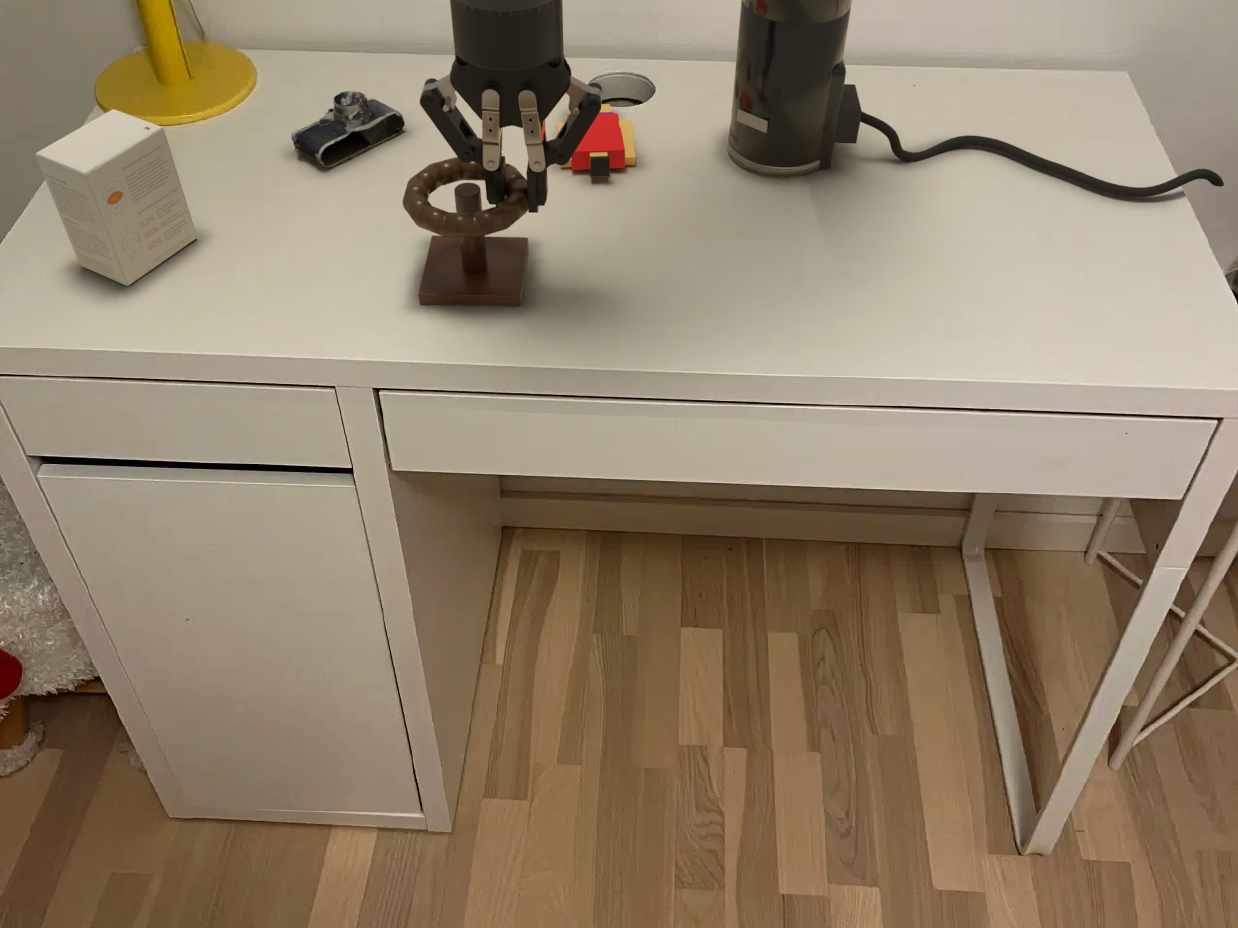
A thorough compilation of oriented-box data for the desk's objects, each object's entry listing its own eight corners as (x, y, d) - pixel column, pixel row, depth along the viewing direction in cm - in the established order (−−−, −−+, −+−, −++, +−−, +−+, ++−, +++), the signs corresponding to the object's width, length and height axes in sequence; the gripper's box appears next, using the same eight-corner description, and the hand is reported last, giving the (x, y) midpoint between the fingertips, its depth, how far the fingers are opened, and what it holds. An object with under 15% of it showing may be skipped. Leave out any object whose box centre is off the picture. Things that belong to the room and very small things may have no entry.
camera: (286, 152, 106) (277, 110, 103) (375, 112, 111) (369, 71, 108) (320, 172, 103) (312, 130, 100) (409, 130, 109) (403, 89, 106)
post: (528, 247, 96) (523, 162, 90) (520, 306, 90) (515, 220, 85) (433, 245, 96) (422, 160, 90) (419, 304, 90) (406, 218, 85)
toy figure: (555, 98, 110) (561, 157, 101) (626, 96, 110) (638, 154, 101) (556, 122, 111) (562, 183, 102) (626, 120, 112) (638, 180, 103)
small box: (151, 219, 98) (114, 106, 91) (200, 239, 96) (165, 125, 89) (77, 267, 93) (31, 152, 86) (127, 289, 91) (83, 172, 84)
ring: (535, 173, 92) (534, 153, 91) (525, 243, 85) (524, 223, 84) (415, 171, 92) (413, 151, 91) (396, 240, 85) (393, 220, 84)
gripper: (392, 4, 73) (422, 232, 86) (607, 9, 73) (606, 237, 86) (410, -43, 79) (435, 178, 91) (610, -39, 79) (609, 182, 91)
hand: (518, 206), depth 88 cm, fingers closed on ring, 2 cm apart
